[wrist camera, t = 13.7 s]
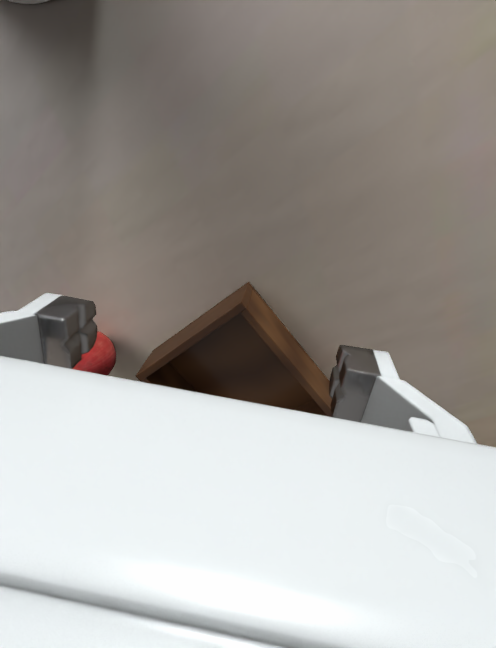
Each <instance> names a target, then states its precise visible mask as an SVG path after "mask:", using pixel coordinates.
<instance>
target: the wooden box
mask: <svg viewBox="0 0 496 648" xmlns="http://www.w3.org/2000/svg"><path fill="white" fill-rule="evenodd" d="M136 377H137V378H138V379H139V380H140V381H141V382H145V383H150V384H156V385H161V386H166V387H172V388H177V389H182V390H188V391H193V392H199V393H204V394H209V395H215V396H220V397H225V398H231V399H236V400H242V401H247V402H253V403H258V404H263V405H269V406H274V407H280V408H285V409H290V410H296V411H301V412H307V413H312V414H317V415H323V416H328V417H332V414H331V406H330V405H331V401H332V398H331V397H330V396H329V383H330V381H329V380H328V379H327V378H326V376H325V375H324V374H323V373H322V371H321V370H320V369H319V368H318V367H317V365H316V364H315V363H314V362H313V360H312V359H311V358H310V357H309V355H308V354H307V353H306V352H305V351H304V349H303V348H302V347H301V346H300V344H299V343H298V342H297V341H296V339H295V338H294V337H293V336H292V335H291V333H290V332H289V331H288V330H287V328H286V327H285V326H284V325H283V323H282V322H281V321H280V320H279V319H278V317H277V316H276V315H275V314H274V312H273V311H272V310H271V309H270V307H269V306H268V305H267V304H266V303H265V301H264V300H263V299H262V298H261V296H260V295H259V294H258V293H257V291H256V290H255V289H254V288H253V287H252V285H251V284H250V283H249V282H248V283H246V284H245V285H244V286H242V287H241V288H239V289H238V290H237V291H235V292H234V293H232V294H231V295H230V296H228V297H227V298H225V299H224V300H223V301H221V302H220V303H218V304H217V305H216V306H214V307H213V308H211V309H210V310H209V311H207V312H206V313H205V314H203V315H202V316H200V317H199V318H198V319H196V320H195V321H193V322H192V323H191V324H189V325H188V326H186V327H185V328H184V329H182V330H181V331H179V332H178V333H177V334H175V335H174V336H172V337H171V338H170V339H168V340H167V341H166V342H164V343H163V344H161V345H160V346H159V347H157V348H156V349H154V350H153V351H152V353H151V354H150V356H149V357H148V359H147V360H146V362H145V363H144V364H143V366H142V367H141V369H140V370H139V372H138V373H137V375H136Z"/></svg>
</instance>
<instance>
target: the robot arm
mask: <svg viewBox="0 0 496 648" xmlns="http://www.w3.org/2000/svg"><path fill="white" fill-rule="evenodd" d="M8 1H11V2H15V3H21V4H37V3H43V2H46V1H49V0H8ZM95 315H96V307H95V304H94V302H93V301H89V300H84V299H79V298H74V297H68V296H63V295H59V294H52V293H45V294H44V295H42V296H41V297H39V298H37V299H36V300H34V301H33V302H31V303H29V304H28V305H26V306H24V307H23V308H21V309H20V310H18V311H8V312H3V313H0V648H496V447H490V446H485V445H480V444H477V442H476V441H475V439H474V437H473V435H472V433H471V432H470V430H469V428H468V426H466V425H465V424H464V423H462V422H461V421H459V420H458V419H457V418H455V417H454V416H453V415H451V414H450V413H448V412H447V411H446V410H444V409H443V408H442V407H440V406H439V405H437V404H436V403H435V402H433V401H432V400H430V399H429V398H428V397H426V396H425V395H424V394H422V393H421V392H419V391H418V390H417V389H415V388H414V387H413V386H411V385H410V384H408V383H407V382H406V381H403V380H400V379H399V376H398V374H397V371H396V369H395V367H394V364H393V362H392V359H391V357H390V354H389V353H388V352H385V351H377V350H372V349H366V348H359V347H353V346H346V345H340V346H339V349H338V351H337V355H336V360H337V365H336V366H335V367H334V368H333V369H332V373H331V377H330V383H329V396H330V397H331V398H332V401H331V405H330V406H331V414H332V417H328V416H323V415H317V414H312V413H307V412H301V411H296V410H290V409H285V408H280V407H274V406H269V405H263V404H258V403H253V402H247V401H242V400H236V399H231V398H225V397H220V396H215V395H209V394H204V393H199V392H193V391H188V390H182V389H177V388H172V387H166V386H161V385H156V384H150V383H145V382H139V381H134V380H129V379H123V378H118V377H113V376H107V375H102V374H96V373H91V372H86V371H80V370H75V369H73V368H74V367H75V366H76V365H77V364H78V363H79V362H80V361H81V360H82V357H81V355H82V354H85V353H88V352H89V351H90V350H91V349H92V348H93V346H94V344H95V342H96V339H97V325H96V324H95V323H94V321H93V320H92V319H93V318H94V316H95Z"/></svg>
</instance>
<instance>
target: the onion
mask: <svg viewBox="0 0 496 648" xmlns="http://www.w3.org/2000/svg"><path fill="white" fill-rule="evenodd" d="M81 357H82V360H81V361H80V362H79V363H78V364H77V365H76V366H75V367H74V368H73V369H75V370H80V371H86V372H91V373H96V374H102V375H108V374H109V373H110V372H111V370H112V369H113V367H114V365H115V363H116V352H115V349H114V346H113V343H112V342H111V341H110V339H109V338H108V337H107V336H105V335H104V334H102V333H101V332H98V331H97V339H96V342H95V344H94V346H93V348H92V349H91V350H90V351H89V352H88V353H85V354H82V355H81Z"/></svg>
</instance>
